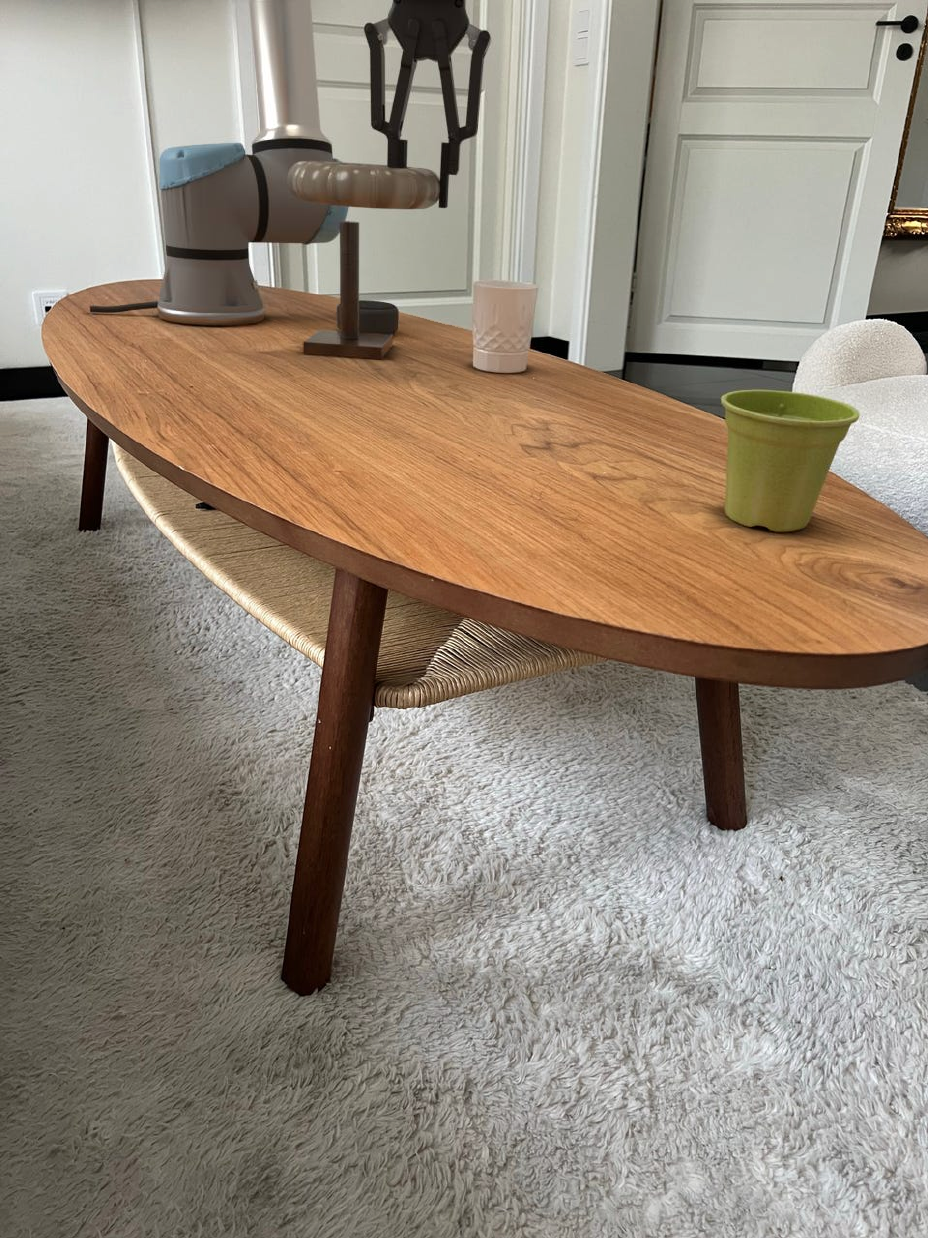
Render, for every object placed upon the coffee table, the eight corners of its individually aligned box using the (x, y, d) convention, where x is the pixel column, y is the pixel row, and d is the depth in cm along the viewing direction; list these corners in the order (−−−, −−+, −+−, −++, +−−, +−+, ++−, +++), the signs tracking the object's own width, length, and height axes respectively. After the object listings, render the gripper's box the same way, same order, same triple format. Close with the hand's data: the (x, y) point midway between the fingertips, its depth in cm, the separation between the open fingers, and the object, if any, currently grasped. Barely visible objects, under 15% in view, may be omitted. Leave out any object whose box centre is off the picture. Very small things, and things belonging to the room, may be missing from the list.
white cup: (543, 370, 114) (551, 286, 109) (502, 377, 109) (509, 289, 104) (496, 359, 118) (502, 278, 114) (455, 365, 113) (459, 281, 109)
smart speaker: (350, 325, 136) (350, 297, 134) (406, 331, 134) (407, 303, 132) (327, 333, 128) (326, 304, 127) (385, 340, 126) (386, 310, 125)
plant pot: (756, 548, 62) (783, 424, 58) (676, 503, 70) (695, 391, 66) (857, 535, 66) (889, 417, 62) (771, 493, 74) (794, 386, 70)
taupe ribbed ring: (273, 202, 95) (271, 160, 94) (308, 195, 110) (307, 159, 109) (432, 213, 95) (434, 171, 93) (446, 205, 110) (448, 168, 108)
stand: (303, 353, 115) (300, 220, 108) (320, 340, 123) (318, 217, 117) (381, 359, 114) (383, 226, 107) (392, 345, 123) (395, 222, 116)
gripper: (340, -60, 89) (340, 201, 99) (514, -50, 88) (495, 212, 99) (354, -45, 95) (353, 198, 106) (516, -35, 95) (498, 209, 105)
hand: (421, 205), depth 102 cm, fingers closed on taupe ribbed ring, 4 cm apart
